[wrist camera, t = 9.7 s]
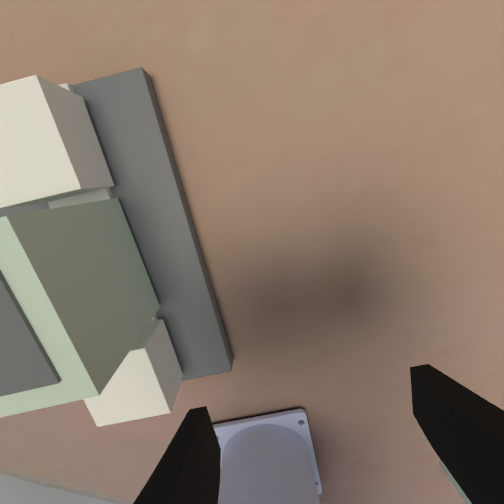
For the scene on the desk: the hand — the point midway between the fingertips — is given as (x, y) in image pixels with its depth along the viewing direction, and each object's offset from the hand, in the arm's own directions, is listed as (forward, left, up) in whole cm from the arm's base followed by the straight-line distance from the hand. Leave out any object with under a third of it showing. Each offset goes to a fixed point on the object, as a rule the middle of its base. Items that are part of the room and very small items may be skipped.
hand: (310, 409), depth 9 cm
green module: (+5, +10, -8) cm, 14 cm away
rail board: (+5, +10, -9) cm, 15 cm away
